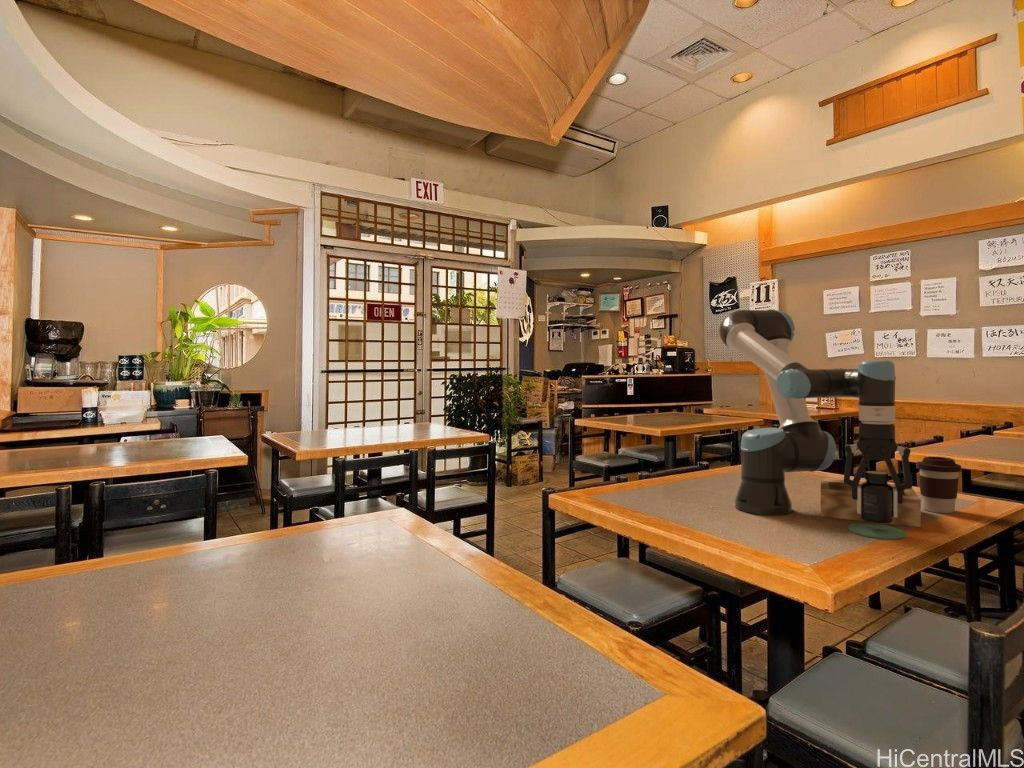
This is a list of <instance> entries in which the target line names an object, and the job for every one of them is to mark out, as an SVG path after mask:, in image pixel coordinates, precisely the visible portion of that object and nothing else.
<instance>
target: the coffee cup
mask: <svg viewBox="0 0 1024 768" xmlns="http://www.w3.org/2000/svg"><path fill="white" fill-rule="evenodd" d="M916 468H917V469H919V475H918V476H919V478H918V479H919V490H920V491H919V492H920V495H921V507H922V509H923V510H925V511H928V512H931V513H937V514H952V513H955V511H956V501H957V498H958V490H959V480H960V479H959V472H962V465H960V464H958V463H956V461H955V459H954V458H949V457H943V456H924V457H923V459H922V460H920V461H917V462H916Z"/></svg>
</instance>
